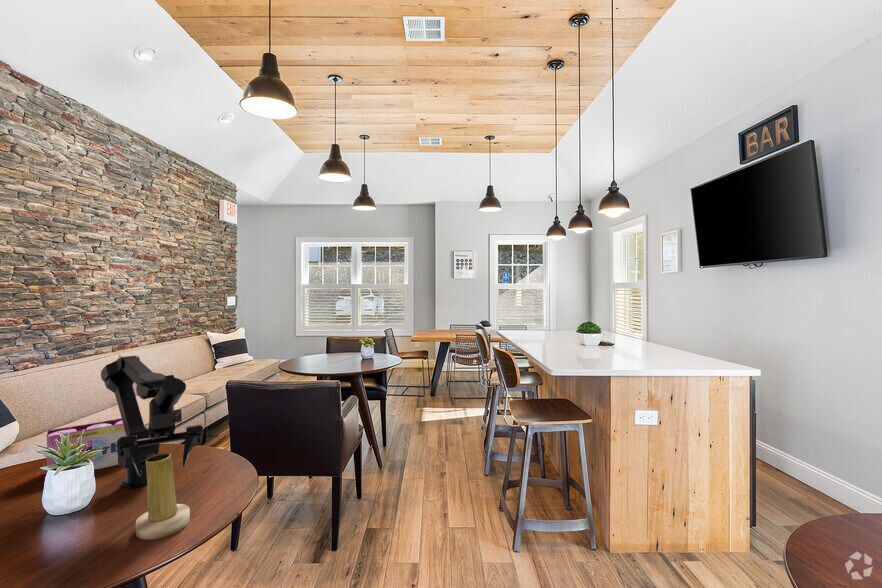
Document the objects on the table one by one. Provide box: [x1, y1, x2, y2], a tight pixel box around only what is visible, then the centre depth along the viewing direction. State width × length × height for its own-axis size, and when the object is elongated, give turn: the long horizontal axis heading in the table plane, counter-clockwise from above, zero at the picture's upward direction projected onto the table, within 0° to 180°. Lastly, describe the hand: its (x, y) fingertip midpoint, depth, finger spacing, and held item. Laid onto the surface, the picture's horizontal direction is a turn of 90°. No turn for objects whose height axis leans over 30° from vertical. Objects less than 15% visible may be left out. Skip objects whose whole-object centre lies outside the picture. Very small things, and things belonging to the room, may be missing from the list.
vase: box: [146, 452, 178, 521], centre depth 101 cm, size 6×6×14 cm
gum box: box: [46, 417, 126, 470], centre depth 137 cm, size 24×8×14 cm, turn 132°
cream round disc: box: [135, 503, 191, 540], centre depth 102 cm, size 11×11×3 cm
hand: (162, 470), depth 105 cm, fingers open, 9 cm apart
